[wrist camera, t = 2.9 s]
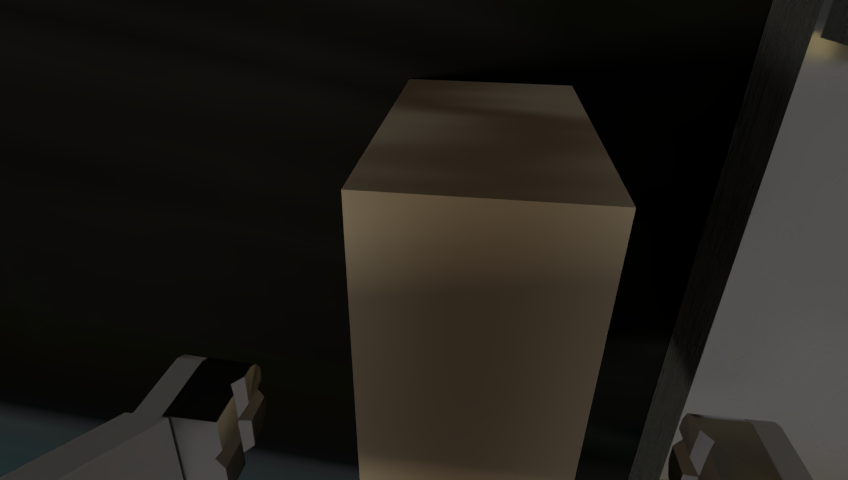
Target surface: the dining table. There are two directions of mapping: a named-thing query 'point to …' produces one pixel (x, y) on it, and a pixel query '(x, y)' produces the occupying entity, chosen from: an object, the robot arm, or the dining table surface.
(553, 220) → the maple block
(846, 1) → the block
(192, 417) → the robot arm
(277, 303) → the dining table surface
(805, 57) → the vise base
